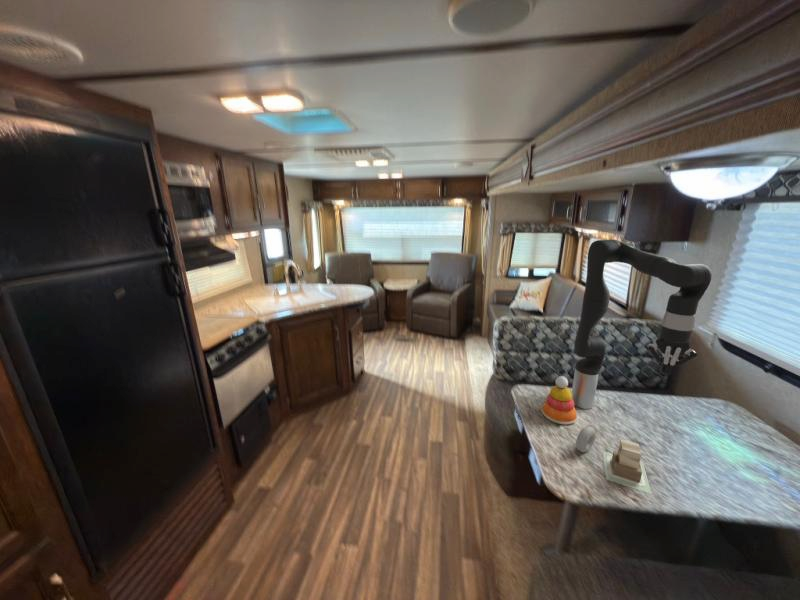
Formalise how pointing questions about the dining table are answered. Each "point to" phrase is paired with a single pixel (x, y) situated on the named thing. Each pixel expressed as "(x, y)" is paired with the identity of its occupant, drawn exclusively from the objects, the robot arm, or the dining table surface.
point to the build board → (610, 475)
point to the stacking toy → (560, 404)
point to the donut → (585, 439)
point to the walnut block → (625, 469)
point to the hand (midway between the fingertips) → (665, 373)
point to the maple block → (629, 454)
